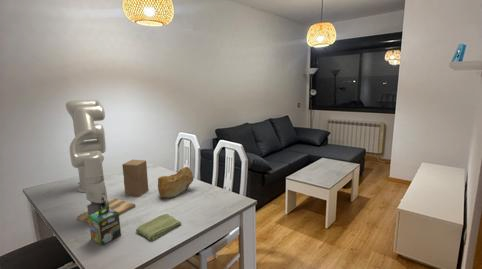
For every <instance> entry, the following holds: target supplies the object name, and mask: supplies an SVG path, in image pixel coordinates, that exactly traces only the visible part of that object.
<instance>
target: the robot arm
mask: <svg viewBox="0 0 482 269" xmlns="http://www.w3.org/2000/svg"><path fill="white" fill-rule="evenodd" d="M65 109H66V111H67V113H68V115H69V116H70V117H71V119H72V124H73V132H74V138H73V139H72V141H71V143H70V145H69V156H70V162H71V165H72V168H75V169H77V171H78V172H77V173H78V179H79V182H78V185H79V187H78V188H77V191H78V192H79V193H85V196H86V200H87V201H89V202H90V204H92V203H94V202H95V203H99V206H100V208H99V209H101V208H104V207H106V204H107V203H108V202H109V200H108V193H107V188H106V184H105V177H104V176H105V175H104V169H103V168H104V167H103V162H104V158H105V157H104V153H105V152H106V151H107V150H106V149H107V146H106V137H105V136H106V135H105V128H104V126H103V125H102V124H101V123H95V122H100V121H104V120H105V118H106V113H105V108H104V107H103V104H102V103H101V101H100V100H98V99H78V100H77V99H76V100H68V101H67V102H66V103H65ZM101 202H103V203H102V205H101Z"/></svg>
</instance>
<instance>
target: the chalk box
mask: <svg viewBox="0 0 482 269" xmlns="http://www.w3.org/2000/svg"><path fill="white" fill-rule="evenodd" d="M88 220H89V223H88V225H89V232H90V238H91V240H93V241H94V242H96V243H97V244H98V245H101V246H103V245H106V244H108V243H110V242H111V241H113V240H115V239H117V238H118V237H121V236H122V231H121V230H122V229H121V221H120V215H119V212H117V211H115V210H112V209H110V208H109V206H106V207H104V208H101V209H99V211H98V212H95V213H93V214H91V215H89V216H88Z"/></svg>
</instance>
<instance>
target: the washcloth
mask: <svg viewBox="0 0 482 269" xmlns="http://www.w3.org/2000/svg"><path fill="white" fill-rule="evenodd" d="M180 225H182V222H181V221H180V220H179V219H176V218H175V217H174V216H172V215H170V214H169V213H164V214H161V215H159V216H157V217H155V218H153V219H151V220H149V221H147V222H145V223H142V224H141V225H139V226H138V227H136V229H135V231H136V233H138V234H140V236H144V237H145V238H146V239H148V241H154V240H156V239H158V238H160V237H162V236H164V235H165V234H167V233H168V232H169V231H172V230H173V229H176V227H179V226H180Z"/></svg>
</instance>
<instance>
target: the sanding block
mask: <svg viewBox="0 0 482 269" xmlns="http://www.w3.org/2000/svg"><path fill="white" fill-rule="evenodd" d="M102 203H103V202H101V205H102ZM106 206H109V201H108V203H107V204H106ZM86 208H87V211H88V216H89V215H91V214H93V213H95V212H98V211H99V208H100V206H99V203H95V202H94V203H92V204H91V203H90V204H87V205H86Z"/></svg>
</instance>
